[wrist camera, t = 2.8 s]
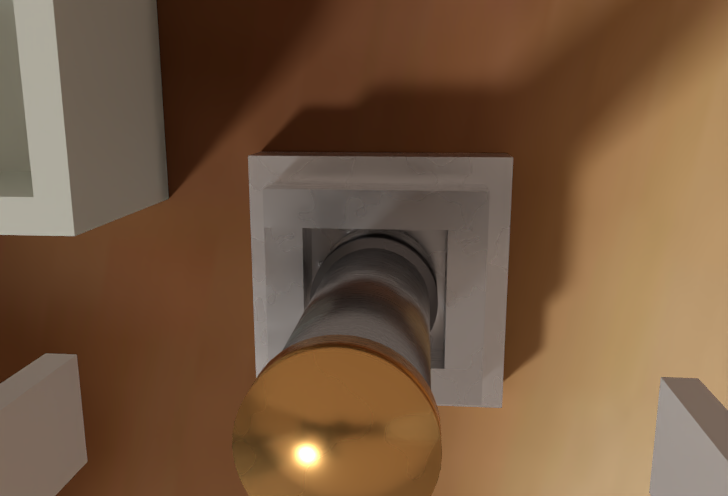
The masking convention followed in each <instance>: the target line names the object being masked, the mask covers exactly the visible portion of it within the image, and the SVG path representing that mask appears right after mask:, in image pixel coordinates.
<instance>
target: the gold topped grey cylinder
mask: <svg viewBox="0 0 728 496" xmlns="http://www.w3.org/2000/svg"><path fill="white" fill-rule="evenodd" d="M437 310H438V293H437V278H436V272H435V269H434V266H433V263H432V261H431V259H430V257H429V255H428V254H427V252H426V251H425V250H424V249H423V247H422V246H421V245H420V244H419V243H418V242H416V241H415V240H414V239H413V238H411V237H410V236H408V235H406V234H404V233H402V232H400V231H397V230H394V229H361V230H358V231H355V232H353V233H351V234H349V235H347V236H345V237H344V238H342V239H341V240H340V241H339V242H338V243H336V245H335V246H334V247H333V248H332V249H331V250H330V252H329V253H328V255H327V256H326V258H325V260H324V261H323V263H322V265H321V266H320V268H319V269H318V271H317V273H316V275H315V277H314V280H313V283H312V287H311V292H310V302H309V304H308V306H307V308H306V309H305V311H304V313H303V315H302V316H301V318H300V320H299V322H298V323H297V325H296V327H295V329H294V331H293V332H292V334H291V336H290V338H289V339H288V341H287V343H286V345H285V346H284V348H283V350H282V352H280V353H279V354H278V355H276V356H275V357H274V358H273V359H272V360H270V361H269V363H268V364H267V365H266V366H265V367H264V368H263V369H262V371H261V372H260V373H259V375H258V376H257V378H256V379H255V381H254V383H253V384H252V386H251V388H250V389H249V391H248V393H247V394H246V396H245V398H244V400H243V402H242V404H241V406H240V408H239V410H238V413H237V416H236V419H235V423H234V429H233V439H232V448H233V457H234V462H235V466H236V470H237V473H238V475H239V477H240V480H241V482H242V484H243V486H244V488H245V490H246V491H247V493H248V495H249V496H431V494H432V493H433V491H434V488H435V486H436V483H437V481H438V477H439V473H440V469H441V460H442V446H441V424H440V416H439V411H438V407H437V404H436V401H435V398H434V395H433V393H432V391H431V358H430V331H431V330H432V328H433V325H434V323H435V320H436V316H437Z"/></svg>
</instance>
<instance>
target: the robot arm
mask: <svg viewBox="0 0 728 496" xmlns="http://www.w3.org/2000/svg"><path fill="white" fill-rule="evenodd" d="M86 463H87V452H86V442H85V432H84V422H83V412H82V401H81V391H80V381H79V371H78V361H77V354H51V353H45V354H44V355H42V356H41V357H39V358H38V359H36V360H35V361H33V362H32V363H30V364H29V365H27V366H26V367H24V368H23V369H21V370H20V371H18V372H17V373H15V374H14V375H12V376H11V377H9V378H8V379H6V380H5V381H3V382H2V383H0V496H56V494H57V493H58V492H59V491H60V490H61V489H62V488H63V487H64V486H65V485H66V484H67V483H68V482H69V481H70V480H71V479H72V478H73V477H74V475H75V474H76V473H77V472H78V471H79V470H80V469H81V468H82V467H83V466H84V465H85V464H86ZM649 493H650V495H651V496H728V410H727V409H726V408H725V407H724V406H723V405H722V404H721V403H720V402H719V401H718V399H717V398H716V397H715V396H714V395H713V394H712V393H711V392H710V391H709V390H708V389H707V387H706V386H705V385H704V384H703V383H702V382H701V381H700V380H699V379H698V378H673V377H661V381H660V391H659V401H658V411H657V421H656V431H655V441H654V451H653V461H652V471H651V481H650V491H649Z"/></svg>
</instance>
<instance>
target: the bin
mask: <svg viewBox="0 0 728 496" xmlns="http://www.w3.org/2000/svg"><path fill="white" fill-rule="evenodd" d="M167 199H169V194H168V178H167V162H166V146H165V130H164V114H163V98H162V81H161V65H160V49H159V33H158V17H157V1H156V0H0V235H40V236H76V235H79V234H81V233H84V232H86V231H89V230H91V229H94V228H96V227H99V226H101V225H104V224H106V223H109V222H111V221H114V220H116V219H119V218H122V217H124V216H127V215H129V214H132V213H134V212H137V211H139V210H142V209H144V208H147V207H149V206H152V205H154V204H157V203H159V202H162V201H164V200H167Z"/></svg>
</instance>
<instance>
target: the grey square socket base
mask: <svg viewBox="0 0 728 496" xmlns="http://www.w3.org/2000/svg"><path fill="white" fill-rule="evenodd" d="M248 165H249V193H250V220H251V247H252V275H253V302H254V329H255V357H256V378H257V376H258V375H259V373H260V372H261V371H262V369H263V368H264V367H265V366H266V365H267V364H268V363H269V361H270V360H272V359H273V358H274V357H275V356H276V355H278V354H279V353H280V352H282V350H283V348H284V346H285V345H286V343H287V341H288V339H289V338H290V336H291V334H292V332H293V331H294V329H295V327H296V325H297V323H298V322H299V320H300V318H301V316H302V315H303V313H304V311H305V309H306V308H307V306H308V304H309V302H310V292H311V287H312V283H313V280H314V277H315V275H316V273H317V271H318V269H319V268H320V266H321V265H322V263H323V261H324V260H325V258H326V256H327V255H328V253H329V252H330V250H331V249H332V248H333V247H334V246H335V245H336V243H338V242H339V241H340V240H341V239H342V238H344V237H345V236H347V235H349V234H351V233H353V232H355V231H358V230H361V229H394V230H397V231H400V232H402V233H404V234H406V235H408V236H410V237H411V238H413V239H414V240H415V241H416V242H418V243H419V244H420V245H421V246H422V247H423V249H424V250H425V251H426V252H427V254H428V255H429V257H430V259H431V261H432V263H433V266H434V269H435V272H436V278H437V293H438V310H437V316H436V320H435V323H434V325H433V328H432V330H431V331H430V358H431V391H432V393H433V395H434V398H435V401H436V404H437V405H441V406H468V407H494V408H502V393H503V371H504V349H505V328H506V306H507V284H508V262H509V240H510V219H511V197H512V175H513V157H512V156H510V155H509V154H508V153H401V152H258V153H255V154H252V155H249V156H248Z"/></svg>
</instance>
